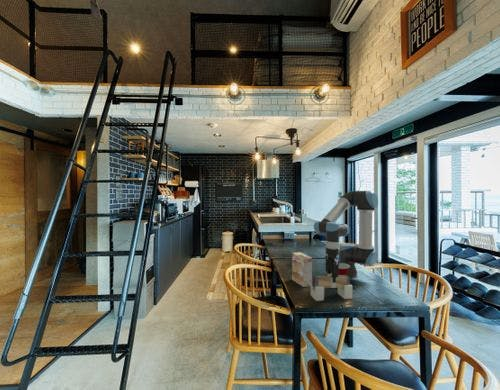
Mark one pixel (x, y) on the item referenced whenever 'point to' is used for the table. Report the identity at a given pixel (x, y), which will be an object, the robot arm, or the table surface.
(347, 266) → the plastic cup
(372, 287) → the table surface
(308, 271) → the coffeecake box
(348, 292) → the foot post
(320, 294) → the head post
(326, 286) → the rail
